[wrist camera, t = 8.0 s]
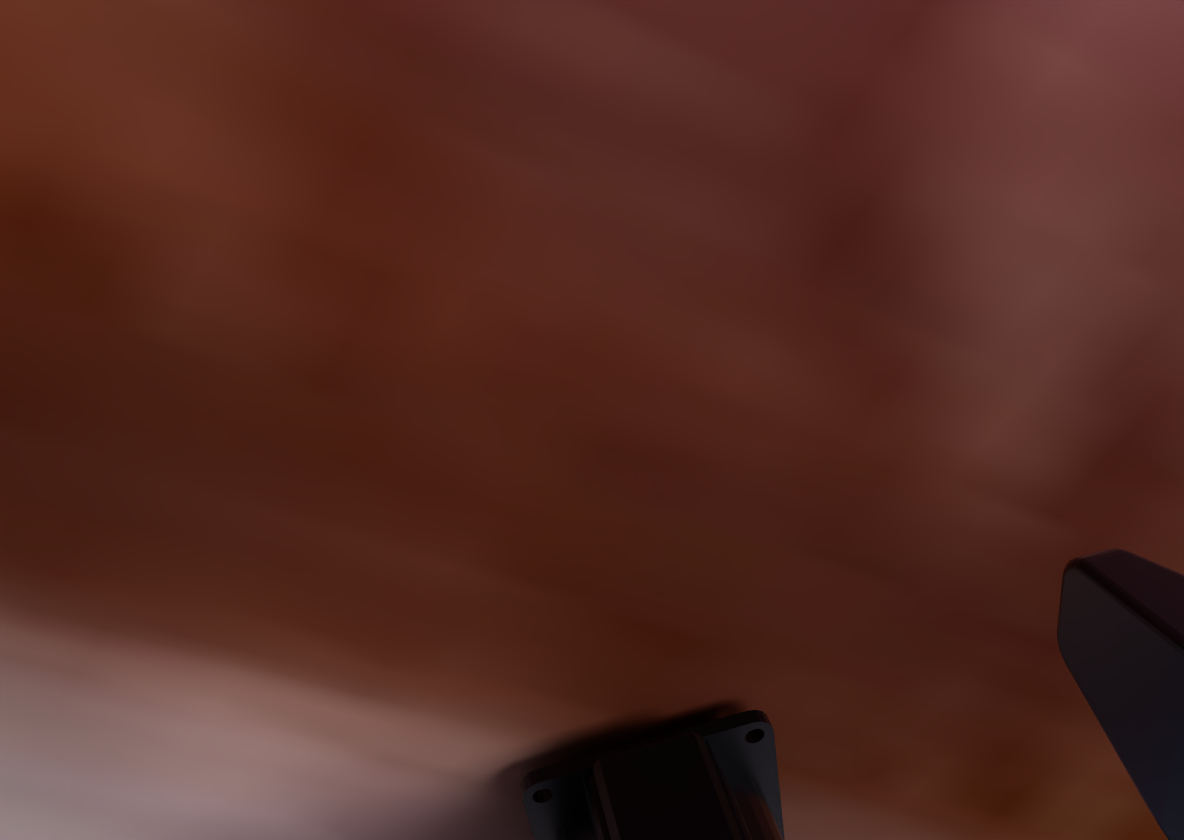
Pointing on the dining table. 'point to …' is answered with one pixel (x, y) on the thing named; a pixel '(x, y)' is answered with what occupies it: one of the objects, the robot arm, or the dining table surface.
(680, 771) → the robot arm
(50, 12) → the dining table surface
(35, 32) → the dining table surface
